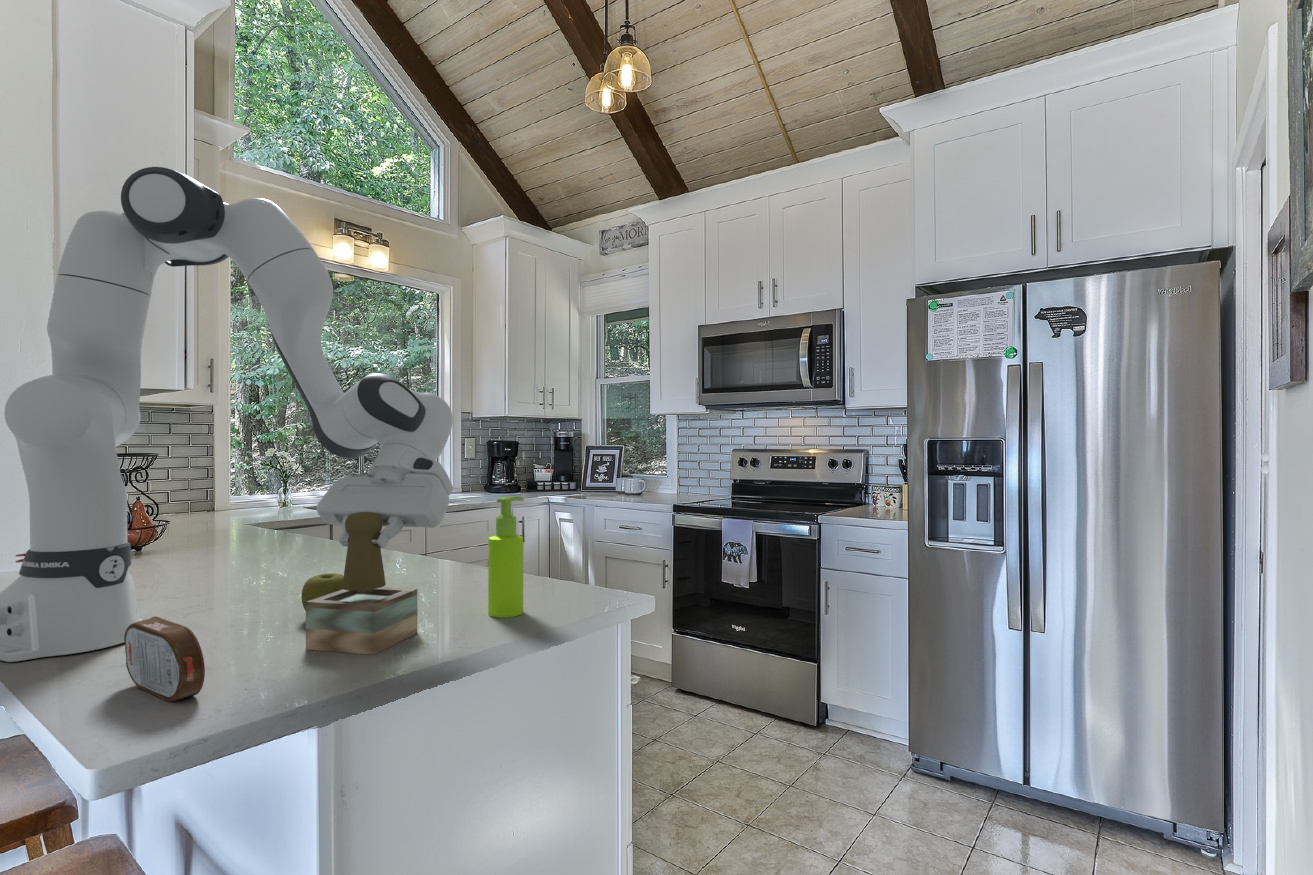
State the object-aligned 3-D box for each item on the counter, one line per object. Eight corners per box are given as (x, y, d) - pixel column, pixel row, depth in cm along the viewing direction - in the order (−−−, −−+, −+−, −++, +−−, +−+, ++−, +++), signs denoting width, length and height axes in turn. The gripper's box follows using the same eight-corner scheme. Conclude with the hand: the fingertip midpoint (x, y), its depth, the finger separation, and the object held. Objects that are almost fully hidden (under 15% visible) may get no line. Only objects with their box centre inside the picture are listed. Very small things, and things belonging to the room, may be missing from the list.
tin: (207, 701, 80) (207, 629, 80) (177, 711, 77) (177, 635, 77) (148, 677, 88) (148, 610, 88) (119, 684, 85) (119, 616, 85)
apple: (301, 626, 111) (301, 582, 111) (301, 615, 118) (301, 573, 118) (353, 621, 114) (353, 577, 114) (349, 610, 122) (349, 569, 121)
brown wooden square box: (305, 649, 99) (305, 601, 99) (354, 628, 110) (354, 585, 110) (374, 654, 97) (374, 606, 97) (417, 632, 108) (417, 588, 108)
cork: (375, 590, 100) (374, 514, 100) (334, 590, 101) (333, 514, 101) (392, 581, 106) (392, 510, 106) (353, 581, 107) (353, 510, 107)
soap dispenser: (533, 609, 122) (533, 496, 122) (509, 619, 116) (509, 499, 116) (506, 606, 124) (506, 494, 124) (481, 615, 118) (481, 497, 118)
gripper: (333, 461, 112) (289, 529, 103) (448, 462, 108) (414, 534, 99) (351, 486, 117) (310, 554, 107) (462, 488, 112) (430, 559, 103)
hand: (361, 544), depth 103 cm, fingers closed on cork, 4 cm apart
